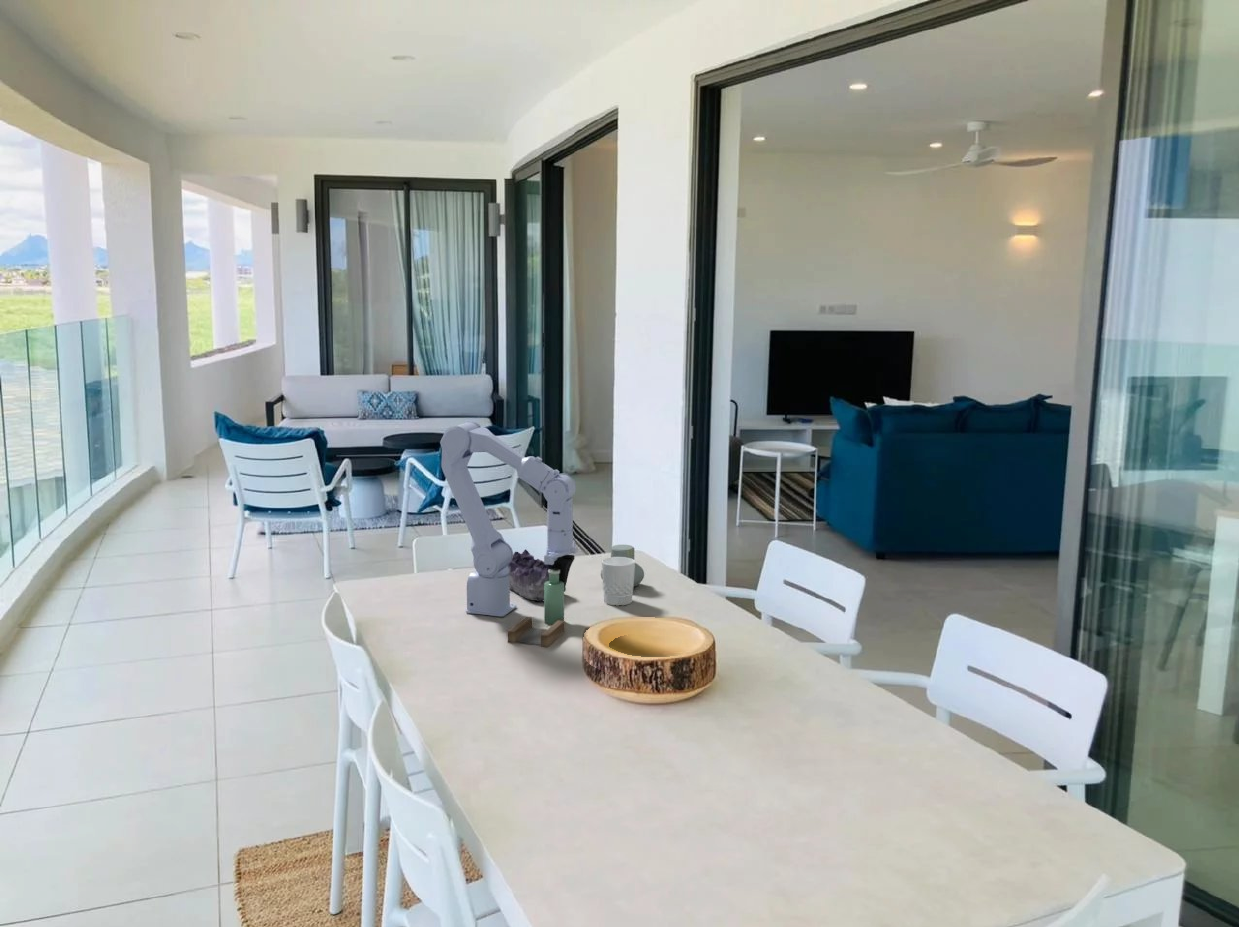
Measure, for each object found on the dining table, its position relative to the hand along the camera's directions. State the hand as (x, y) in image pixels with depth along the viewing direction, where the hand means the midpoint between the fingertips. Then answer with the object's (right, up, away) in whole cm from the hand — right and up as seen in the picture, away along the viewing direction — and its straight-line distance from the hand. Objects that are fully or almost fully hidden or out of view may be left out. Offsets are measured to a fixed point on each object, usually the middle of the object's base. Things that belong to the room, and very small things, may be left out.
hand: (560, 587), depth 228 cm
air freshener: (+14, -3, +26) cm, 30 cm away
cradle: (-4, -9, -12) cm, 16 cm away
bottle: (-1, -7, -2) cm, 8 cm away
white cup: (+13, -5, +13) cm, 19 cm away
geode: (-9, -4, +21) cm, 23 cm away
